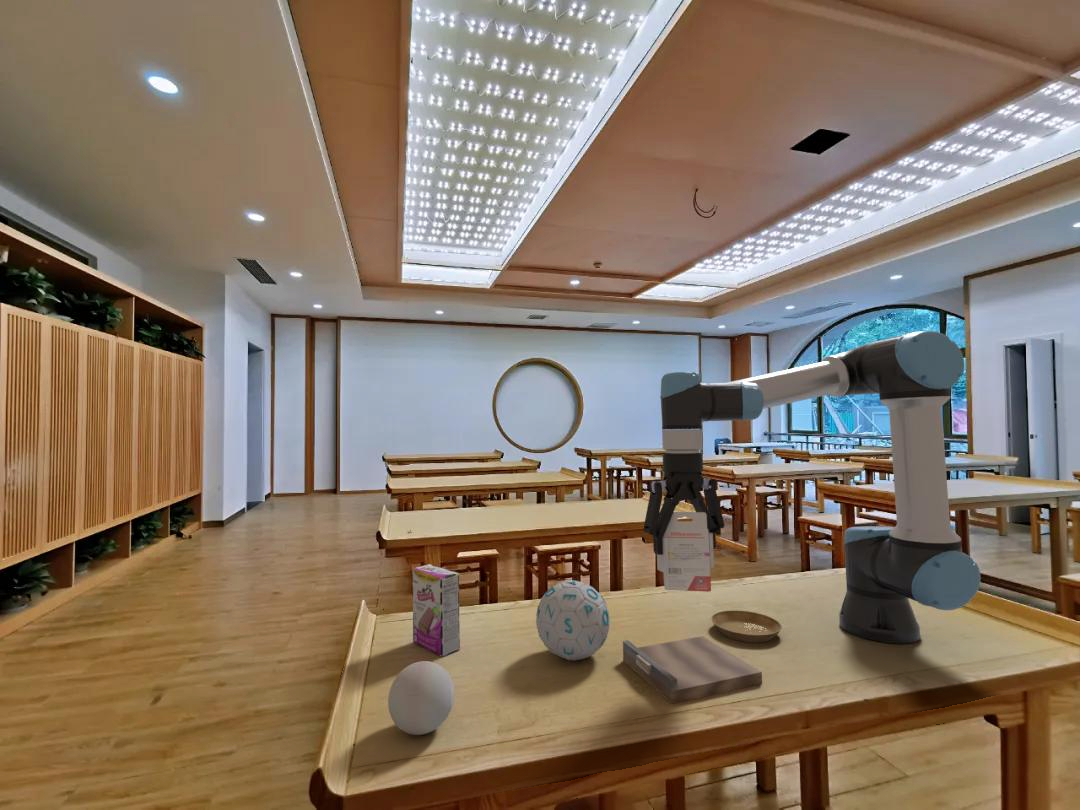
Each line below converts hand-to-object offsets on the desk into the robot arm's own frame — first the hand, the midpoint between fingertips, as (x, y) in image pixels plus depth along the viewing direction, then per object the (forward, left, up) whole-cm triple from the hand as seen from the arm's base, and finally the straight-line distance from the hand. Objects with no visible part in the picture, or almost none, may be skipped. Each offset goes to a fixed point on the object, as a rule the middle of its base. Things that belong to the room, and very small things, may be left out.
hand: (685, 568), depth 97 cm
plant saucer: (-23, -11, -20) cm, 32 cm away
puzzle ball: (+18, -14, -20) cm, 30 cm away
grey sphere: (+50, +1, -20) cm, 54 cm away
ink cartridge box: (0, 0, -4) cm, 4 cm away
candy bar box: (+44, -29, -20) cm, 56 cm away
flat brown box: (0, 0, -19) cm, 19 cm away
